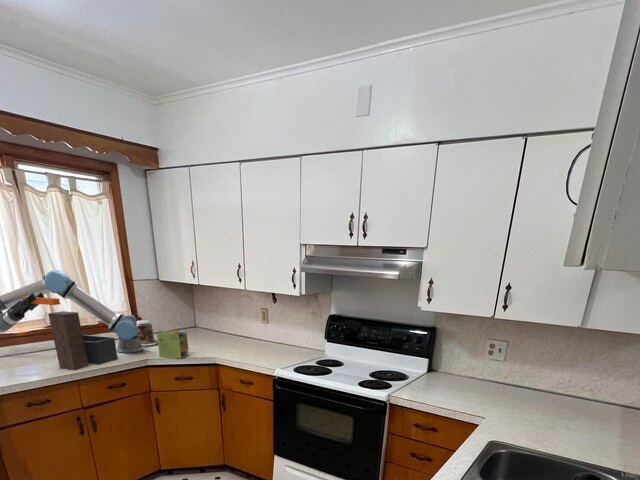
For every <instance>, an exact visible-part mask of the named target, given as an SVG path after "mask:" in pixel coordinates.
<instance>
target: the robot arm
mask: <svg viewBox="0 0 640 480" xmlns="http://www.w3.org/2000/svg"><path fill="white" fill-rule="evenodd" d="M49 293H52V294H57V295H58V296H60V297H61V298H63V299H64V300H70V301H72V303H75V304H76V305H77V306H79V307H81V309H84V310H85V311H86V312H88V313H89V314H91V315H92V316H94V317H95V318H97V319H98V320H100V321H101V322H103V323H104V324H105V325H107V326H108V330H110V331H112V332H113V333H114V334H115V335H116V337H118V344H117V353H123V354H129V353H130V354H132V353H139V352H142V351H143V347H144V348H147V347H149V348H150V347H155V346H158V342H156V343H153V344H148V345H147V344H146V345H144V344H143V345H142V343H140V341H139V339H138V333H137V326H136V324H137V322H136V321H137V319H136V316H135V315H134V314H132V315H131V314H129V315H128V314H127V315H126V314H125V315H123V314H122V313H116V312H114V311H113V310H111V309H110V308H109V307H107V306H106V305H104V304H103V303H101V302H100V301H99V300H97V299H95V298H94V297H93V296H92V295H90V294H89V293H87V292H86V291H84V289H81V288H80V287H79V286H78V282H76V281H75V280H73V279H72V278H71V277H70V275H69V274H68V273H67V272H65V271H64V270H60V269H57V270H51V271H49V272H47V273H46V275H45V276H43V277H42V279H40V280H38V281H35V282H32V283H30V284H28V285H24V286H22V287H19V288H17V289H14V290H12V291H9V292H6V293H4V294H1V295H0V333H7V331H9V330H10V329H11V328H13V327H14V326H15V325H17V324H18V323H19V322H20V321H22V320H23V319H24V318H25V316H26V313H27V312H28V311H31V312H33V311H34V310H35V308H37V307H39V305H40V304H31V302H32V301H34V300H35V299H36V297H43V298H46V297H45V296H44V295H46V294H49ZM22 297H27V298H26V299H25V300H23V299H22ZM3 311H4V312H3Z"/></svg>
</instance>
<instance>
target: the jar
mask: <svg viewBox="0 0 640 480" xmlns="http://www.w3.org/2000/svg"><path fill="white" fill-rule="evenodd" d="M136 326H137V333H138V339H139V341H140V343H141V344H152V343H154V342H155V336H154V331H153V329H154V328H153V325H152V323H150V320H147V319H142V320H141V319H139V320H136Z"/></svg>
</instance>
